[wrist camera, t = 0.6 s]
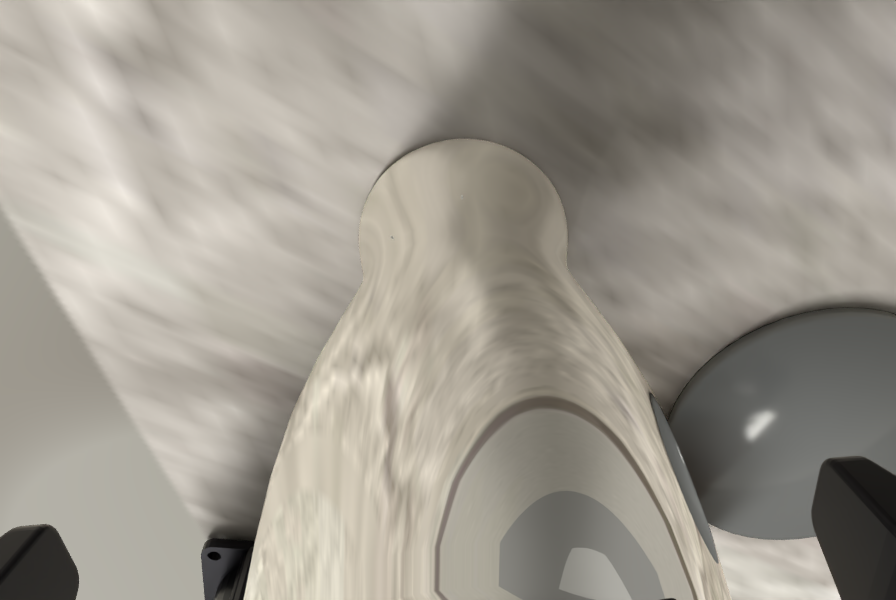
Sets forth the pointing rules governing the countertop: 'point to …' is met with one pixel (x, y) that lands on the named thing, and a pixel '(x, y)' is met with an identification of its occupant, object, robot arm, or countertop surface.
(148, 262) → the countertop surface
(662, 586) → the beer glass
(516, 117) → the countertop surface
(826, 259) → the countertop surface
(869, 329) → the slate coaster
